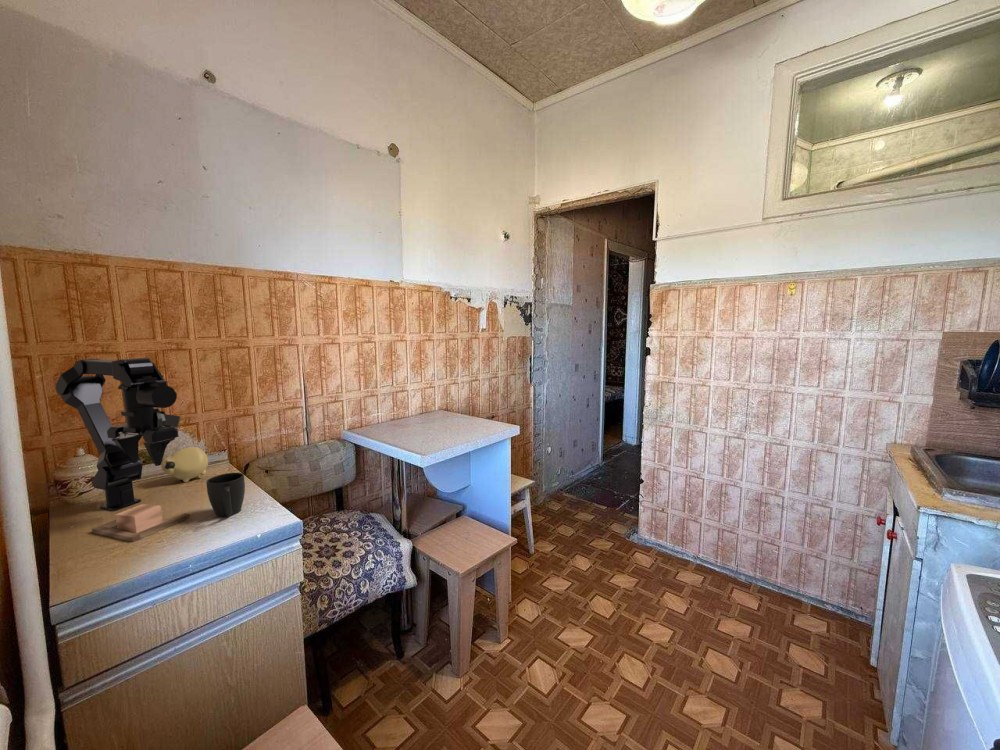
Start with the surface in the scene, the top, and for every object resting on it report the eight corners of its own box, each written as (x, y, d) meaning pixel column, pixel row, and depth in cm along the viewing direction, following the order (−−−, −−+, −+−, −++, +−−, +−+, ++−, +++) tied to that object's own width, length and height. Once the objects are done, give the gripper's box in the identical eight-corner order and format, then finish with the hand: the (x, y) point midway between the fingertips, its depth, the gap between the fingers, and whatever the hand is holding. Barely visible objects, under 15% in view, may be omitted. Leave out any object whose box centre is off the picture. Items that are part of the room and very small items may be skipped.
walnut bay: (92, 532, 97) (91, 528, 97) (150, 510, 109) (150, 506, 109) (133, 541, 93) (132, 537, 92) (189, 517, 104) (189, 514, 104)
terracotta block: (117, 532, 98) (115, 514, 97) (144, 520, 103) (142, 504, 103) (136, 534, 96) (134, 516, 96) (162, 522, 102) (160, 505, 102)
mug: (207, 529, 98) (203, 491, 97) (210, 510, 108) (207, 476, 107) (247, 519, 103) (244, 483, 101) (246, 503, 113) (243, 470, 112)
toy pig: (161, 481, 131) (157, 449, 130) (206, 471, 139) (203, 441, 138) (165, 489, 124) (161, 455, 123) (212, 478, 132) (209, 447, 131)
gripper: (196, 402, 110) (202, 457, 112) (150, 399, 116) (156, 452, 118) (150, 410, 100) (157, 471, 102) (102, 406, 106) (110, 464, 108)
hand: (146, 463), depth 107 cm, fingers open, 9 cm apart
